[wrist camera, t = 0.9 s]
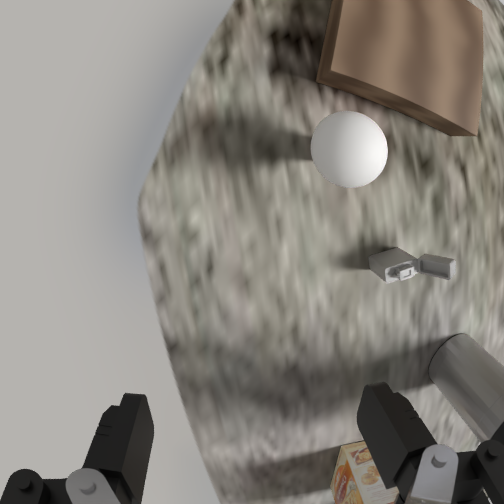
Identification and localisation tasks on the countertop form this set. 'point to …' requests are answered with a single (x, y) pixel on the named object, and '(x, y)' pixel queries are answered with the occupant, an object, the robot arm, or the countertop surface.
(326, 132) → the lightbulb
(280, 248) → the countertop surface
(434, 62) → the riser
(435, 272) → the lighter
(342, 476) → the coffeecake box
